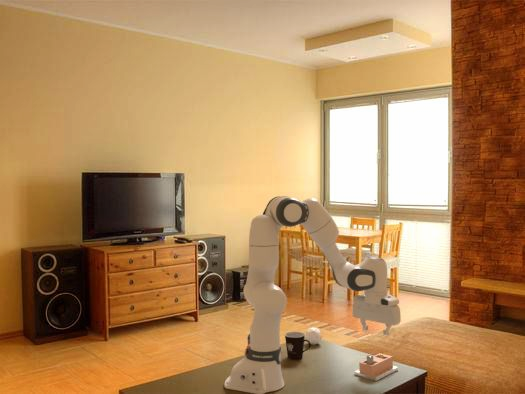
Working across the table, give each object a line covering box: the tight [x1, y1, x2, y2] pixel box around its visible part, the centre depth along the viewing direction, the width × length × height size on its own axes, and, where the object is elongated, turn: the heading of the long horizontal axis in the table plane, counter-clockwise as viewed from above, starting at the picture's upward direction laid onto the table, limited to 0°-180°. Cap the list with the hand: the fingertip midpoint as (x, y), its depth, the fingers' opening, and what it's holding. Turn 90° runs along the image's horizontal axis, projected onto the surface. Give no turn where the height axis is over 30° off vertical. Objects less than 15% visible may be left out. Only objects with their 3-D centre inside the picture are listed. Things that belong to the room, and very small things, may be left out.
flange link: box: [358, 353, 394, 376], centre depth 212 cm, size 15×6×4 cm, turn 136°
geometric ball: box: [305, 327, 323, 346], centre depth 250 cm, size 8×8×8 cm
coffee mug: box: [284, 331, 311, 361], centre depth 230 cm, size 12×9×10 cm
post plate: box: [353, 353, 399, 382], centre depth 212 cm, size 16×10×8 cm, turn 136°
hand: (375, 332), depth 212 cm, fingers open, 8 cm apart
